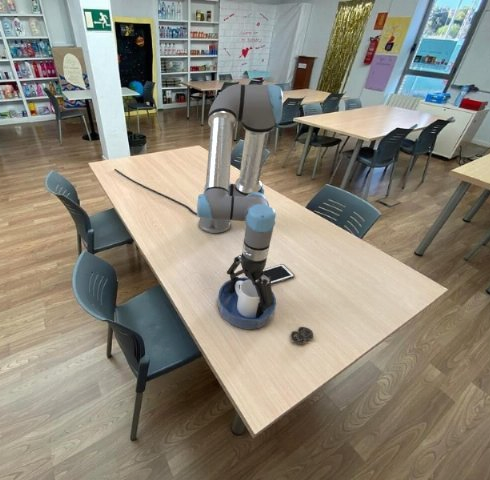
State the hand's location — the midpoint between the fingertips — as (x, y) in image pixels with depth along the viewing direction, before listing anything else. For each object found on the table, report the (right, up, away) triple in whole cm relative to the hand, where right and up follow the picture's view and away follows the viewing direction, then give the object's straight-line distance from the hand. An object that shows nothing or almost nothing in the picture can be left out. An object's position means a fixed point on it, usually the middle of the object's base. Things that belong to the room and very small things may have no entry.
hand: (245, 303), depth 97 cm
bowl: (0, -2, +1) cm, 2 cm away
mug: (0, -1, +1) cm, 2 cm away
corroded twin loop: (+16, -9, -8) cm, 20 cm away
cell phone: (+14, +7, +14) cm, 21 cm away
